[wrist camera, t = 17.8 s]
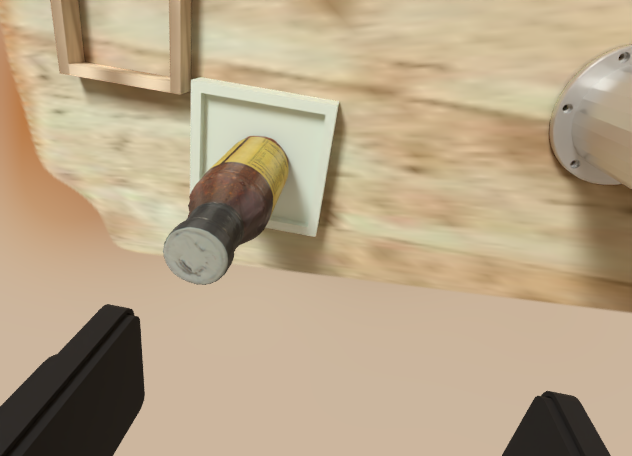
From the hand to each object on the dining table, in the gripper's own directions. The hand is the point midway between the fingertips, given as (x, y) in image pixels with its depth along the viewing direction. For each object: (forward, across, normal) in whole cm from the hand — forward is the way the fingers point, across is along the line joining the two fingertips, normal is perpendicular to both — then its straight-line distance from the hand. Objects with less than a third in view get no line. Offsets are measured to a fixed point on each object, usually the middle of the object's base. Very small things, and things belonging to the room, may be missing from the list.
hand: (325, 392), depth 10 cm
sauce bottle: (+33, +9, +6) cm, 35 cm away
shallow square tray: (+34, +9, +6) cm, 36 cm away
